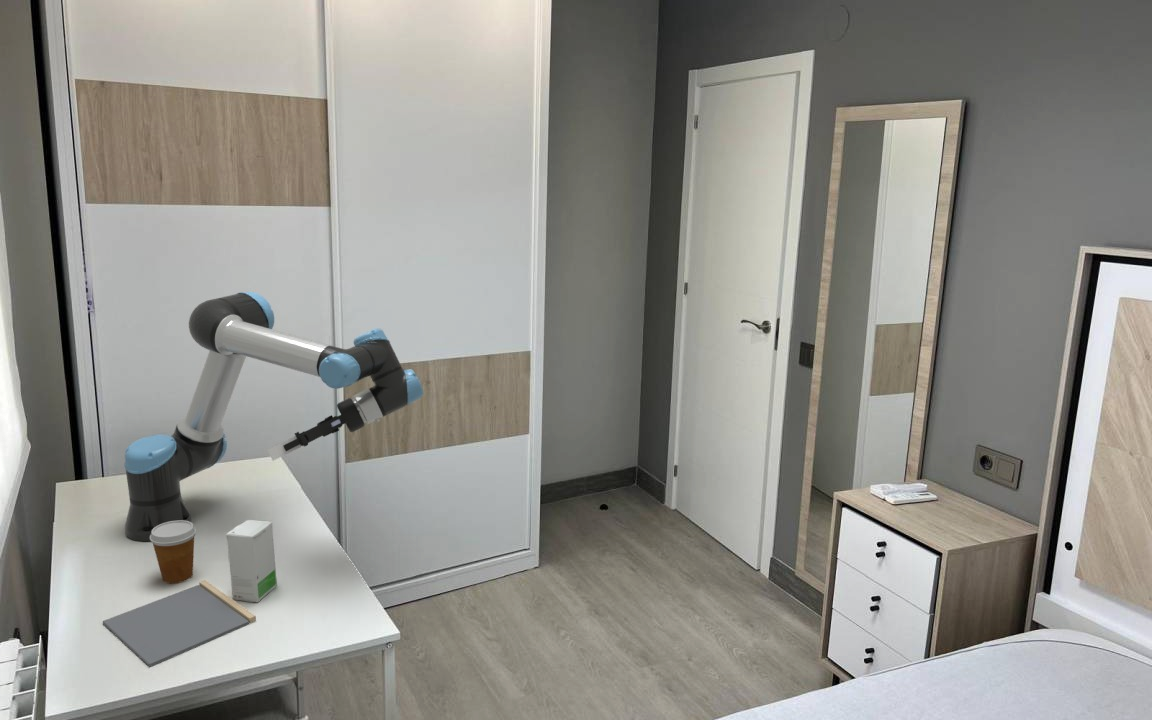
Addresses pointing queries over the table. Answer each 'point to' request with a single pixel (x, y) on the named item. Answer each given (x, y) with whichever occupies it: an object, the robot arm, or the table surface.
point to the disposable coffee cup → (174, 549)
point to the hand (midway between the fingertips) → (271, 454)
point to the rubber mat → (178, 622)
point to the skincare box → (252, 560)
